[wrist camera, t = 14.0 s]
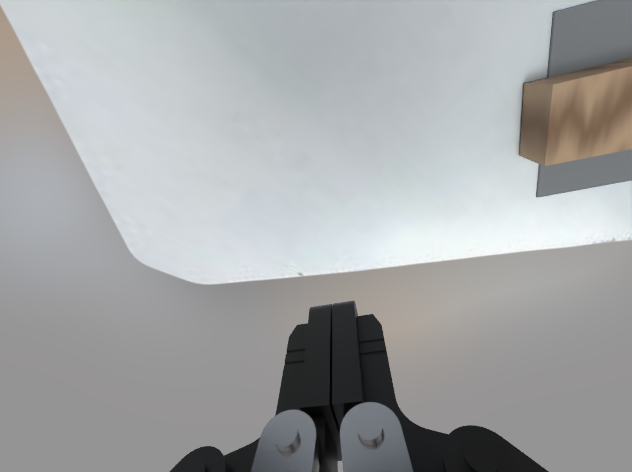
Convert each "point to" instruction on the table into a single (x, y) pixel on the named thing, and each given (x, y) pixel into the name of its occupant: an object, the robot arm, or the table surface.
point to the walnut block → (578, 114)
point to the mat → (578, 54)
